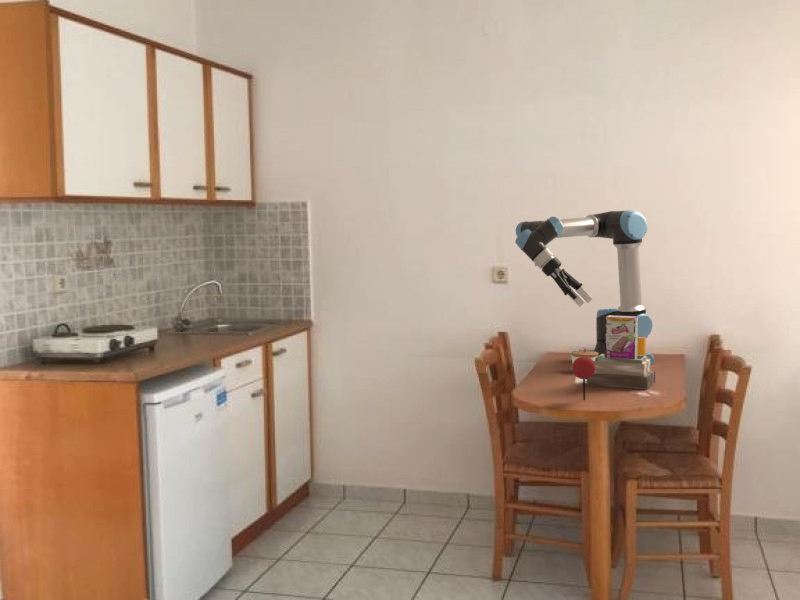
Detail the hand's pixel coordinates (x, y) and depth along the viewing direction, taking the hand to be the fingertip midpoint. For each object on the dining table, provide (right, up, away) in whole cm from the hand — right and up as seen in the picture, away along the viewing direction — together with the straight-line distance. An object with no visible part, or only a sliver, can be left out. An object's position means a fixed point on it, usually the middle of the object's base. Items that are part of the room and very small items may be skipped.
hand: (586, 302), depth 350 cm
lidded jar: (+4, -28, +22) cm, 36 cm away
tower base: (+12, -30, -6) cm, 33 cm away
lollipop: (-8, -33, -36) cm, 50 cm away
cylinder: (+23, -29, +11) cm, 39 cm away
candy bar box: (+11, -22, -7) cm, 25 cm away
